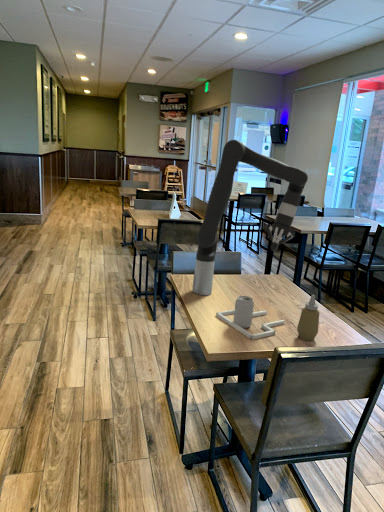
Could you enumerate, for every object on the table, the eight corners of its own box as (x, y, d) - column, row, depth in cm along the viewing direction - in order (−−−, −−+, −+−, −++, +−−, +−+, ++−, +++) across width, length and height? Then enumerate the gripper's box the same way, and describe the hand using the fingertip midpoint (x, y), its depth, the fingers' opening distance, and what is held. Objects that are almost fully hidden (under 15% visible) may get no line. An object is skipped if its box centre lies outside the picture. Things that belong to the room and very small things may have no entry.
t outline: (256, 308, 180) (257, 305, 180) (294, 329, 160) (295, 326, 160) (216, 315, 168) (216, 312, 168) (251, 339, 148) (252, 336, 148)
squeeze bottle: (313, 344, 148) (321, 301, 144) (293, 338, 152) (299, 295, 148) (319, 337, 155) (326, 295, 151) (299, 331, 159) (305, 290, 155)
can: (254, 326, 161) (258, 299, 157) (242, 330, 156) (245, 302, 153) (241, 319, 166) (244, 293, 163) (229, 323, 161) (232, 296, 158)
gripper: (270, 209, 172) (257, 245, 175) (298, 218, 167) (285, 255, 170) (274, 210, 179) (261, 245, 182) (301, 219, 174) (288, 255, 177)
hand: (272, 250), depth 176 cm, fingers closed
